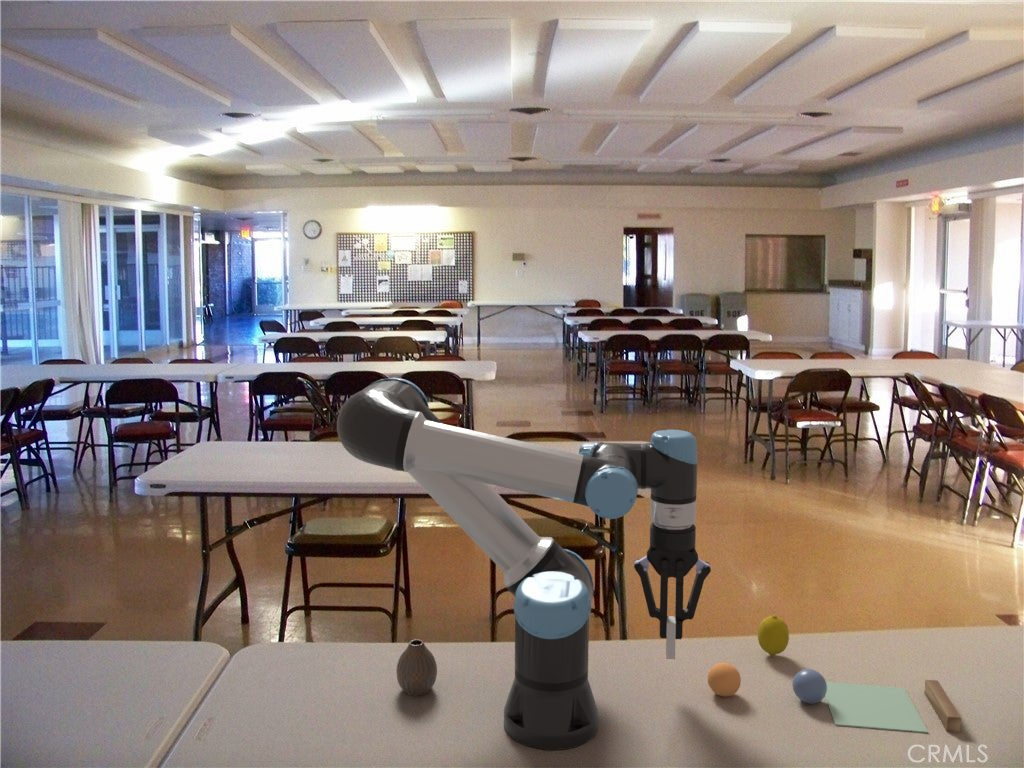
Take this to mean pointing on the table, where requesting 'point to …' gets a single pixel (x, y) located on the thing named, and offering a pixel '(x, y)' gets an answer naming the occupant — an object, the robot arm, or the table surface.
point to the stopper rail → (942, 706)
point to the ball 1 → (724, 679)
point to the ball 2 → (809, 686)
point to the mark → (873, 707)
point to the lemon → (773, 635)
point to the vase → (416, 669)
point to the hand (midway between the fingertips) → (670, 655)
